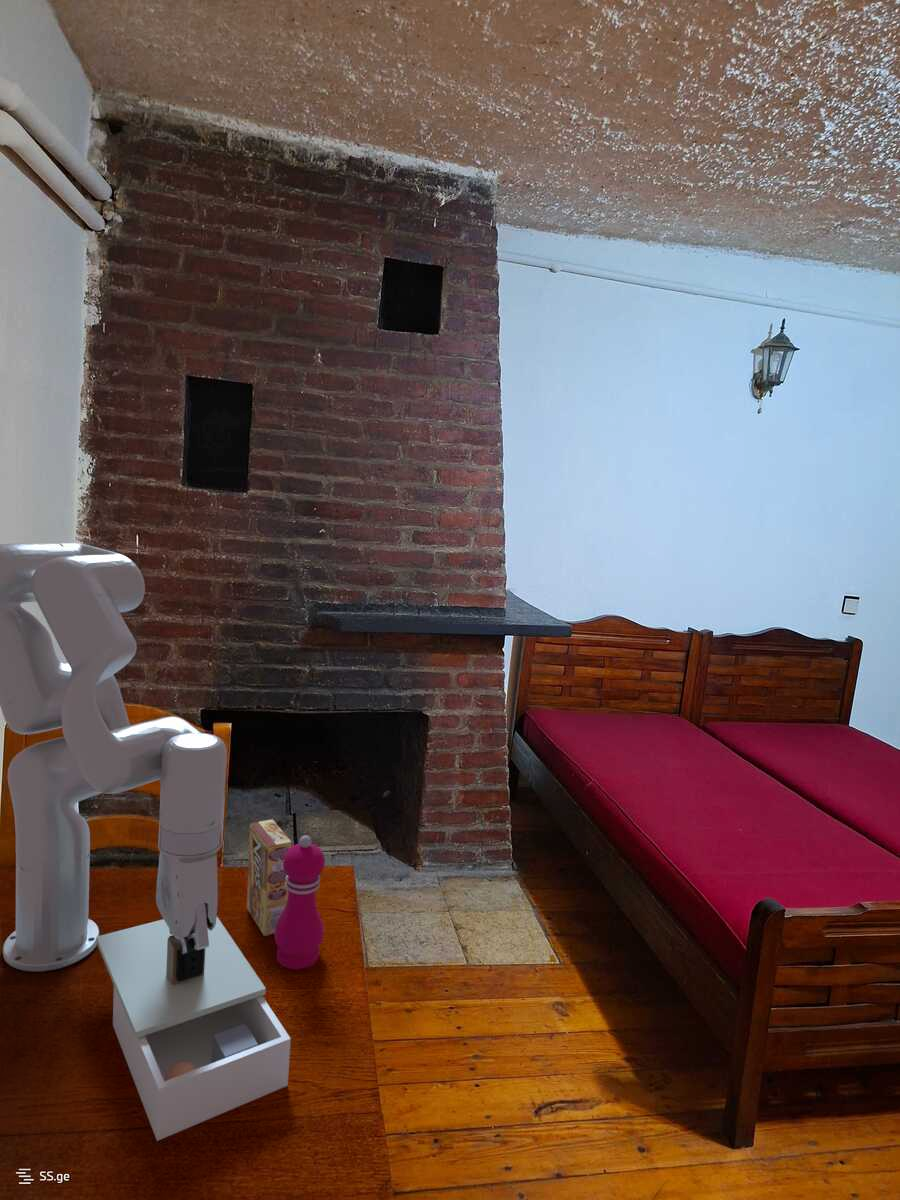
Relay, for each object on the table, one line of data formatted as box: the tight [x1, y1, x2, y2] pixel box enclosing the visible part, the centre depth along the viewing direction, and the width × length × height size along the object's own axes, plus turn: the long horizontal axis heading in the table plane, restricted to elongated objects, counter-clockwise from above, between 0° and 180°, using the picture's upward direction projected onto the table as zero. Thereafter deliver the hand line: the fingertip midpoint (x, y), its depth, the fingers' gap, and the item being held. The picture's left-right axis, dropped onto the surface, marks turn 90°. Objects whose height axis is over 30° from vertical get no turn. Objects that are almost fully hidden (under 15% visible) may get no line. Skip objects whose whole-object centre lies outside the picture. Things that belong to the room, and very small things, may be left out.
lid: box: [96, 916, 267, 1038], centre depth 99 cm, size 21×16×6 cm
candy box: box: [246, 819, 293, 937], centre depth 123 cm, size 9×4×15 cm, turn 33°
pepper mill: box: [273, 835, 326, 970], centre depth 113 cm, size 7×7×20 cm
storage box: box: [112, 986, 292, 1142], centre depth 93 cm, size 20×15×7 cm
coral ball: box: [165, 1061, 196, 1081], centre depth 88 cm, size 4×4×4 cm
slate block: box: [212, 1024, 258, 1063], centre depth 92 cm, size 4×4×4 cm
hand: (185, 968), depth 97 cm, fingers closed on lid, 2 cm apart
